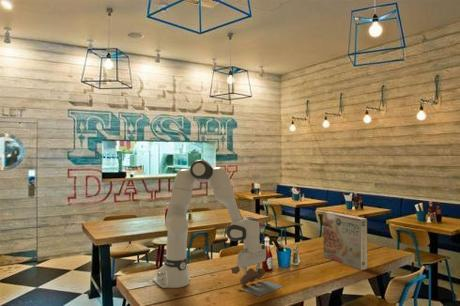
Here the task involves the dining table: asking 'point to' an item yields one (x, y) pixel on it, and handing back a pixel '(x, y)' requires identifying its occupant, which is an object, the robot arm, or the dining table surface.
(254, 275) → the wooden block set
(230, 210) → the robot arm
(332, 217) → the pizza box
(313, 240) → the dining table surface
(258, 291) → the mat
